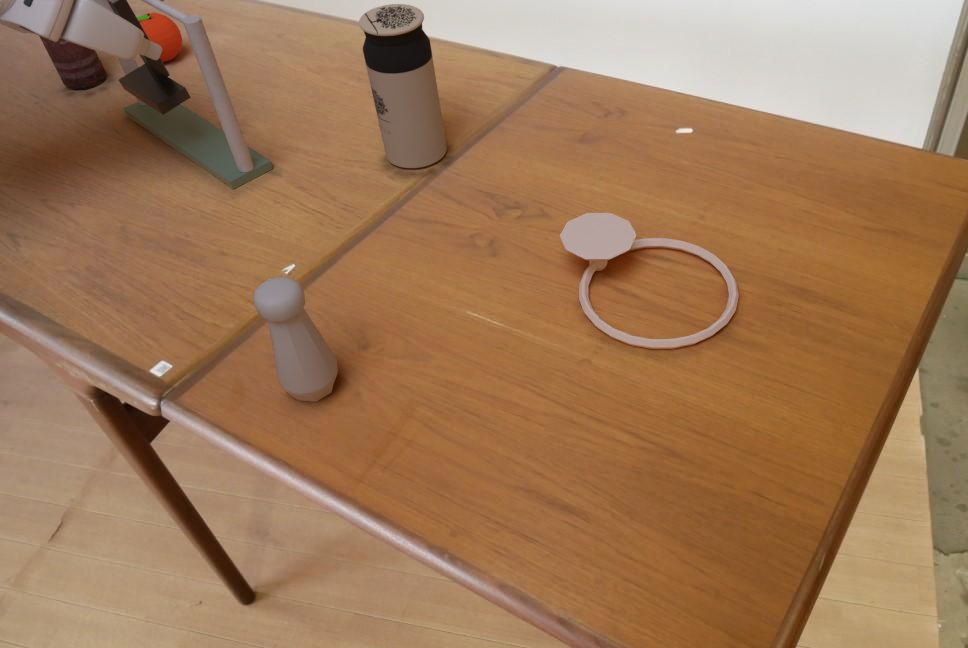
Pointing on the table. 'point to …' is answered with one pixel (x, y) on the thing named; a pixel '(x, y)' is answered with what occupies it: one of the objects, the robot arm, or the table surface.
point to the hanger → (149, 73)
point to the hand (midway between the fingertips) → (138, 41)
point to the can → (75, 64)
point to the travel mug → (403, 85)
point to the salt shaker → (295, 341)
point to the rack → (190, 131)
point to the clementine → (162, 34)
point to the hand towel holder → (615, 236)
